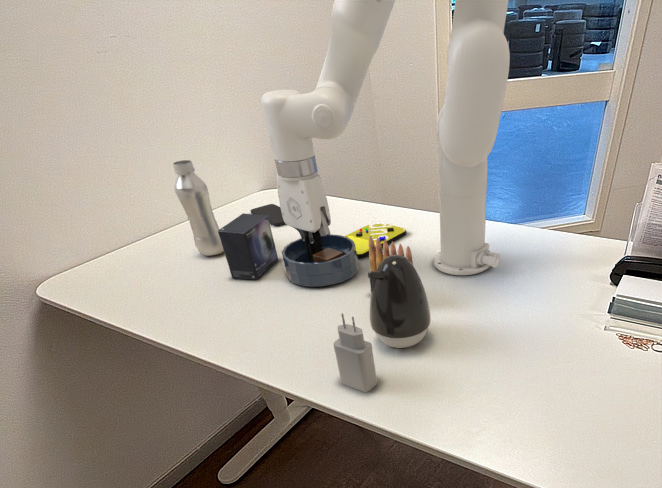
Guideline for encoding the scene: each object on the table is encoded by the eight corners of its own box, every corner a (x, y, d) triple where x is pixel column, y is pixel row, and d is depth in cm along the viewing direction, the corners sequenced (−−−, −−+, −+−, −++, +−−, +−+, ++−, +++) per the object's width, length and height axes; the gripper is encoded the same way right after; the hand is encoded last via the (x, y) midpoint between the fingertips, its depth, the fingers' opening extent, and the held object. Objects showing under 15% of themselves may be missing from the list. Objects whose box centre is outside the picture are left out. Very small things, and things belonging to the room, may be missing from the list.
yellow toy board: (362, 260, 108) (361, 253, 107) (326, 250, 113) (325, 244, 112) (409, 233, 120) (408, 227, 119) (374, 225, 124) (374, 219, 123)
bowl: (372, 267, 105) (369, 243, 102) (322, 296, 96) (317, 270, 93) (324, 252, 112) (320, 229, 109) (273, 277, 103) (266, 253, 100)
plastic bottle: (229, 255, 112) (199, 164, 99) (199, 261, 111) (164, 168, 98) (228, 245, 117) (199, 156, 104) (198, 250, 115) (165, 160, 102)
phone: (275, 223, 125) (248, 210, 133) (276, 227, 125) (249, 213, 134) (300, 216, 129) (272, 203, 137) (300, 219, 129) (273, 206, 138)
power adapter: (351, 371, 77) (339, 305, 69) (379, 381, 74) (369, 314, 67) (339, 382, 75) (325, 315, 67) (367, 393, 72) (355, 325, 65)
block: (346, 272, 103) (343, 252, 100) (331, 280, 100) (327, 260, 97) (332, 267, 105) (328, 247, 102) (316, 274, 102) (312, 254, 99)
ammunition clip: (371, 295, 96) (363, 236, 88) (377, 291, 97) (370, 233, 89) (413, 309, 91) (409, 248, 83) (419, 305, 92) (415, 245, 84)
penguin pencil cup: (360, 340, 83) (346, 257, 73) (404, 317, 89) (397, 237, 79) (398, 364, 78) (389, 278, 68) (443, 338, 83) (441, 255, 73)
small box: (258, 281, 102) (244, 232, 95) (231, 279, 103) (215, 231, 96) (280, 260, 110) (269, 213, 103) (254, 258, 111) (241, 212, 104)
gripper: (256, 166, 93) (280, 257, 105) (309, 177, 86) (328, 273, 98) (285, 157, 97) (305, 245, 109) (338, 167, 90) (353, 259, 102)
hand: (316, 258), depth 103 cm, fingers closed
